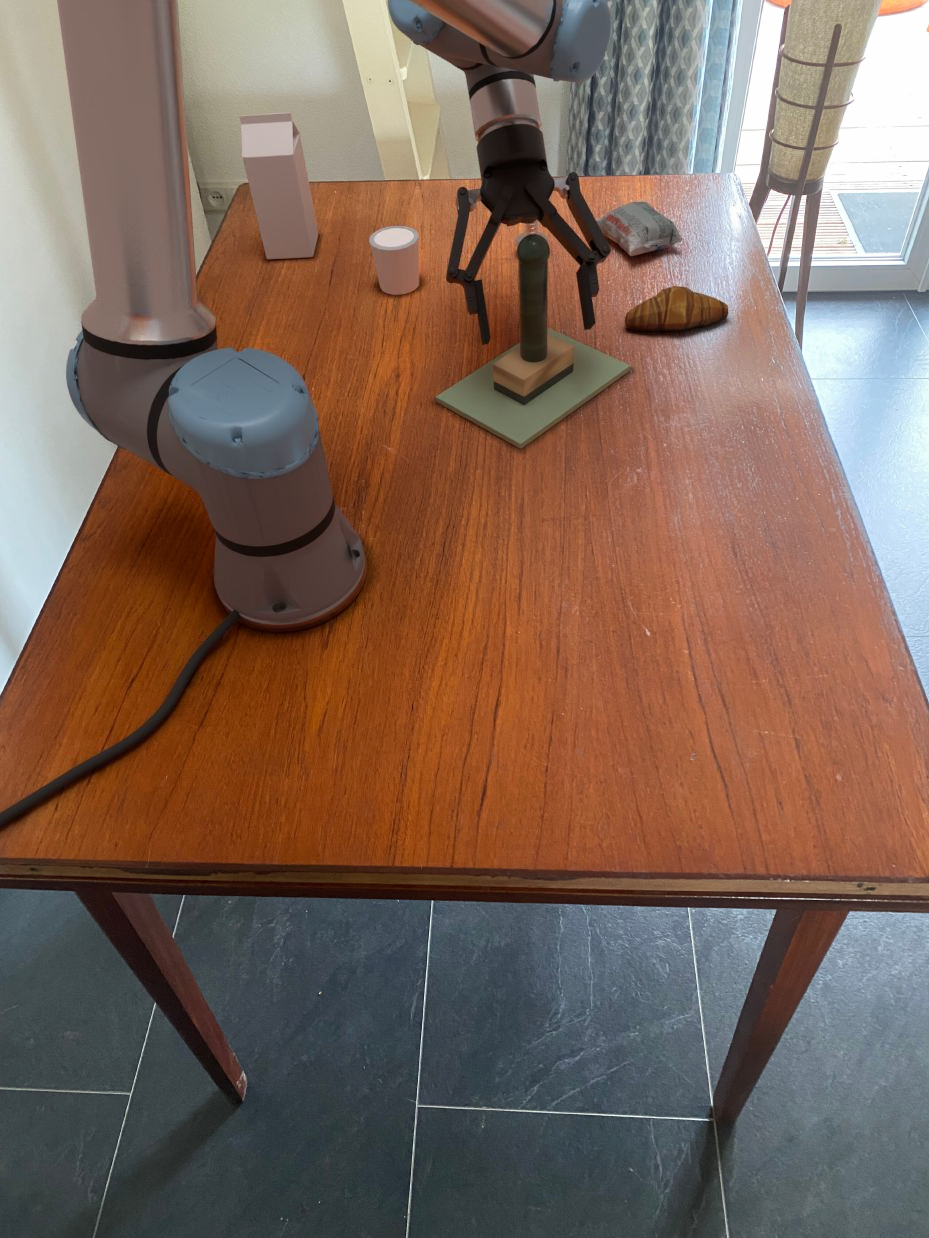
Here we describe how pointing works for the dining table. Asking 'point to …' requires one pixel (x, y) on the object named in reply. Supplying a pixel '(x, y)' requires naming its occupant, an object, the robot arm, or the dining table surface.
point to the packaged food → (639, 228)
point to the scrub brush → (533, 332)
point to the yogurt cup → (396, 258)
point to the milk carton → (279, 185)
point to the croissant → (676, 311)
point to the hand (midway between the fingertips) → (538, 334)
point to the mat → (545, 410)
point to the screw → (530, 232)
